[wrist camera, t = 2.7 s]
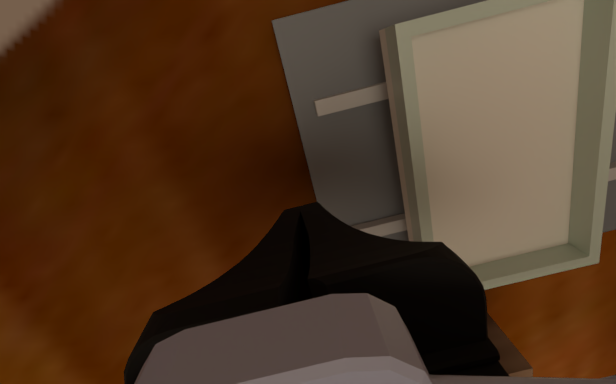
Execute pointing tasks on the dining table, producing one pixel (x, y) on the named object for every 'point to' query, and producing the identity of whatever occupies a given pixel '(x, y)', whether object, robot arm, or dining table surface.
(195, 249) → the dining table surface
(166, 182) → the dining table surface
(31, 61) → the dining table surface
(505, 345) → the walnut block
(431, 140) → the cream tray
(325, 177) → the track
